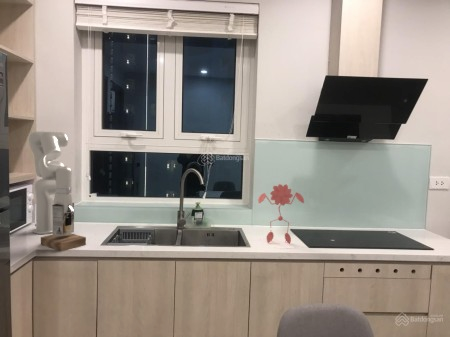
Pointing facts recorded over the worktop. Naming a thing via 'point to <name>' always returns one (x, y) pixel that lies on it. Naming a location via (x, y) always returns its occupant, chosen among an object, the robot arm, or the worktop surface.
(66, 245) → the board
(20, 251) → the worktop surface
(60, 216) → the coffee box
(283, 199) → the pink flower figurine
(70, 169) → the robot arm
